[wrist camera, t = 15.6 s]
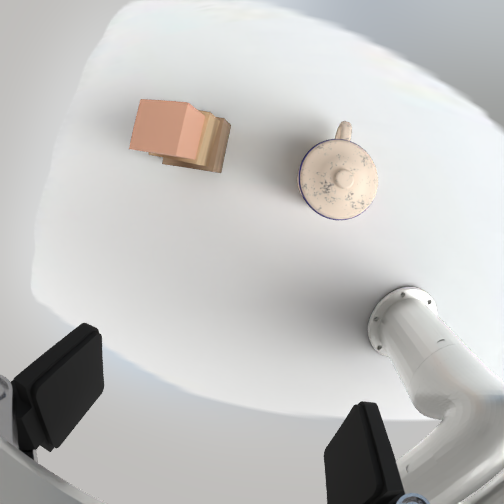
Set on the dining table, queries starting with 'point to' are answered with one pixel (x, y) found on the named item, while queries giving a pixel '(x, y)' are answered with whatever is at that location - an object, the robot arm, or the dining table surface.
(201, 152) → the block
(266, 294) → the dining table surface
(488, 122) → the dining table surface
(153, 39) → the dining table surface
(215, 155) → the tower base
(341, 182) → the teacup with lid
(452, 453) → the robot arm
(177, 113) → the terracotta block
